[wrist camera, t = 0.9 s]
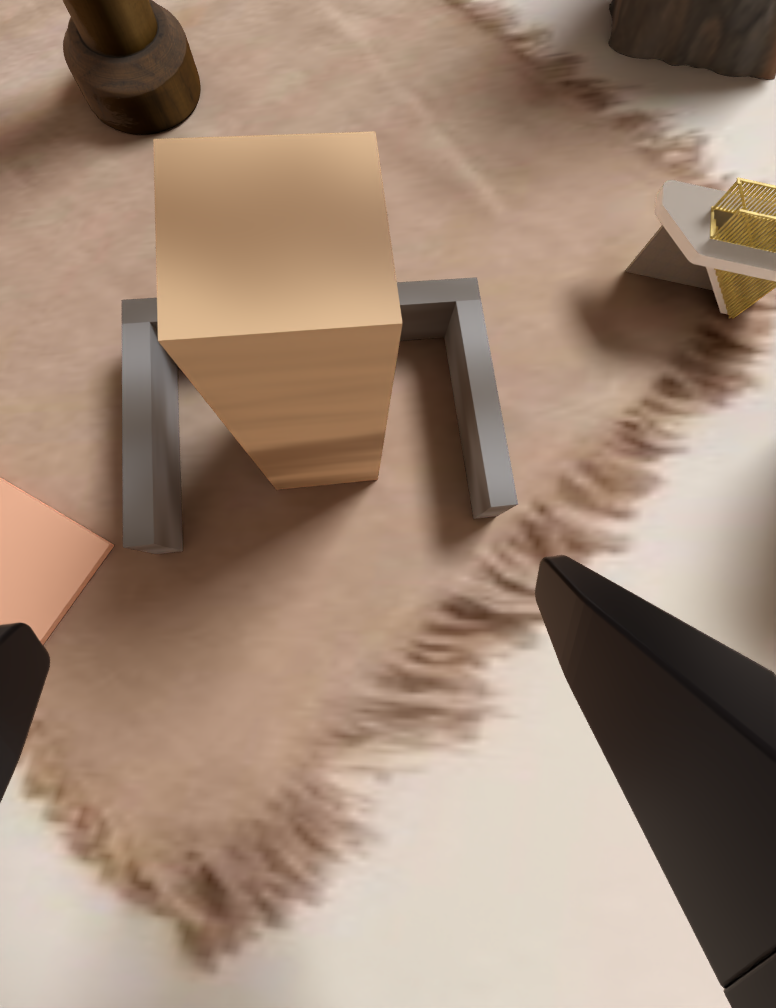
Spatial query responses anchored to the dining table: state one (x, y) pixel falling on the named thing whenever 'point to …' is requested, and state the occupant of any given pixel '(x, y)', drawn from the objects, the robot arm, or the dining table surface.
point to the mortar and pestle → (131, 63)
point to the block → (282, 295)
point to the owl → (699, 34)
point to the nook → (424, 315)
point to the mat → (42, 561)
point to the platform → (714, 242)
